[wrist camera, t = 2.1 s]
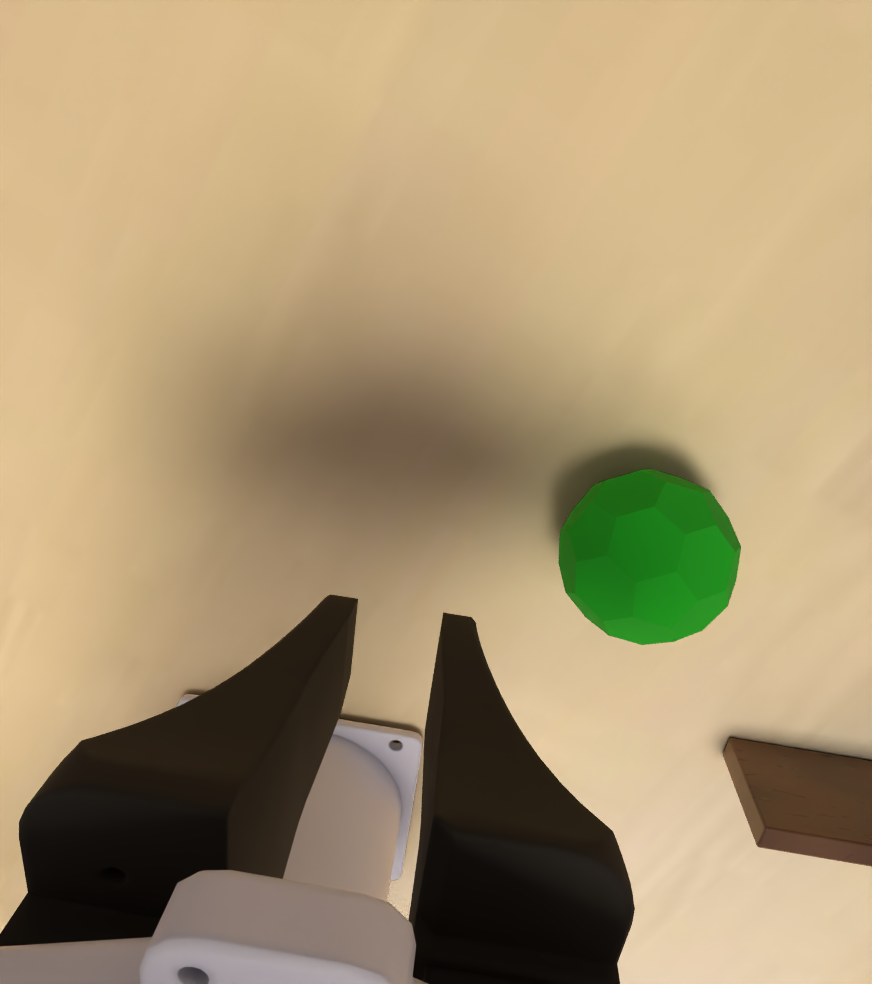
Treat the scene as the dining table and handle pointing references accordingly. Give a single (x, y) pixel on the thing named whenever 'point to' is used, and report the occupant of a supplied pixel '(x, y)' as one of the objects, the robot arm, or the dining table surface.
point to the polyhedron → (649, 557)
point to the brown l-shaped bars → (804, 800)
